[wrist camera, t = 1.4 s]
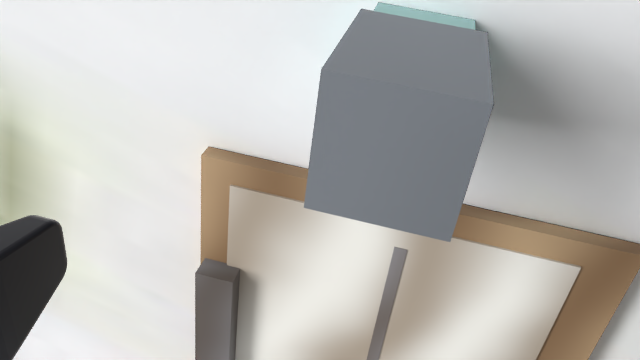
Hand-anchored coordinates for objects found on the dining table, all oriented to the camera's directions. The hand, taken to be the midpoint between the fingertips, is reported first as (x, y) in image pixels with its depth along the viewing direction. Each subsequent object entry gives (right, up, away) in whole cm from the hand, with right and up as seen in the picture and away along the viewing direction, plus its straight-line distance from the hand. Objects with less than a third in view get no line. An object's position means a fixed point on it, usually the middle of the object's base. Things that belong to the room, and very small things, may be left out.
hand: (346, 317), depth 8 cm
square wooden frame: (+2, -5, +17) cm, 18 cm away
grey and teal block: (+3, +6, +10) cm, 12 cm away
